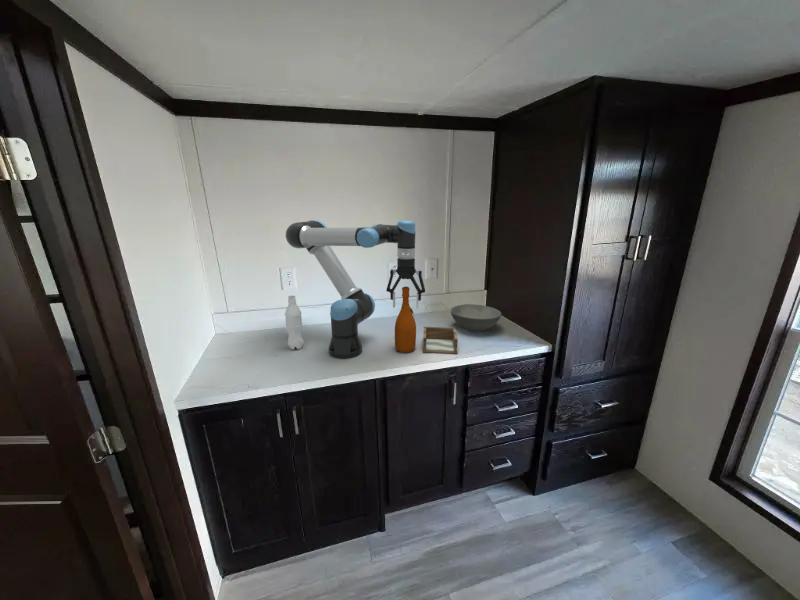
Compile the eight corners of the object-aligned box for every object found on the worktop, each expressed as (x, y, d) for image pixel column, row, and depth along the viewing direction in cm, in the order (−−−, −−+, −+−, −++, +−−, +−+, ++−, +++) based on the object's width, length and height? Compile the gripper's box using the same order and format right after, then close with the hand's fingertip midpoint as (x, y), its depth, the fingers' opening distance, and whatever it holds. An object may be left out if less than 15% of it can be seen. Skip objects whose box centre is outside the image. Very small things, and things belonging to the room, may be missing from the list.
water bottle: (299, 342, 166) (294, 293, 159) (307, 347, 161) (302, 296, 154) (285, 347, 161) (280, 296, 154) (293, 352, 157) (287, 299, 149)
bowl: (440, 328, 185) (441, 310, 182) (465, 315, 204) (466, 299, 201) (485, 341, 168) (486, 322, 165) (507, 326, 188) (509, 309, 185)
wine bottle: (413, 354, 155) (415, 290, 146) (392, 352, 157) (392, 289, 148) (417, 345, 164) (418, 284, 155) (397, 343, 166) (397, 283, 157)
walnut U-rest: (457, 354, 155) (458, 340, 153) (422, 352, 157) (423, 339, 154) (454, 339, 171) (455, 327, 168) (423, 338, 172) (423, 325, 170)
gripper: (379, 258, 145) (379, 308, 151) (432, 259, 143) (430, 310, 150) (381, 255, 152) (382, 303, 159) (432, 256, 150) (430, 305, 157)
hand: (405, 306), depth 154 cm, fingers open, 10 cm apart
